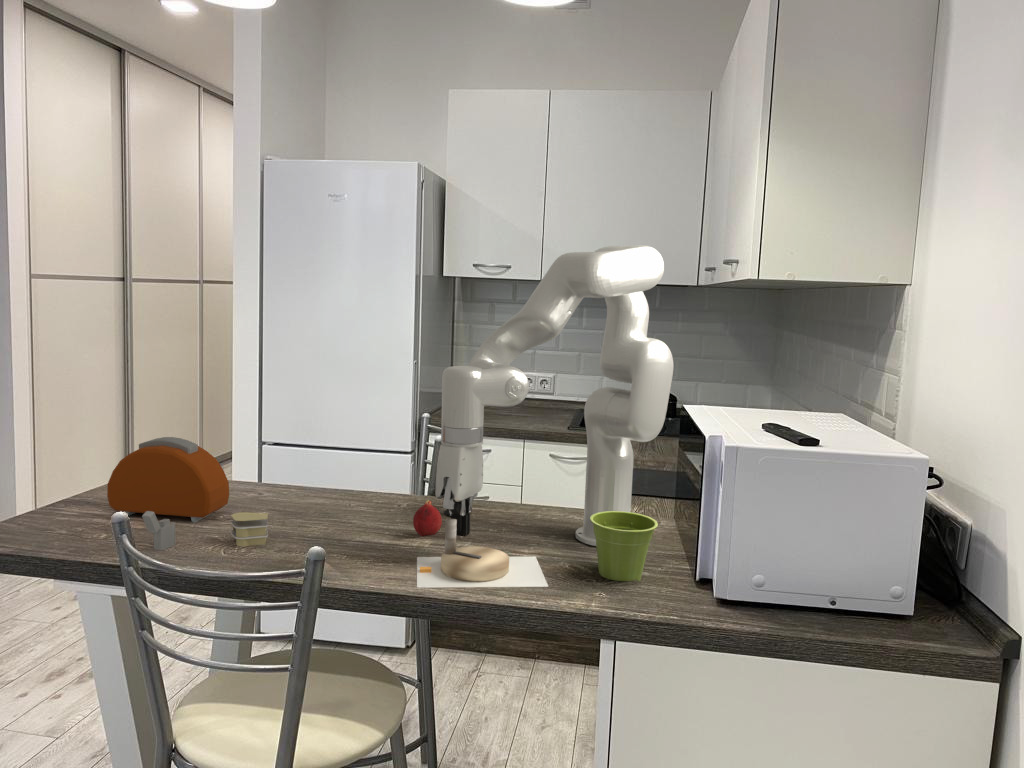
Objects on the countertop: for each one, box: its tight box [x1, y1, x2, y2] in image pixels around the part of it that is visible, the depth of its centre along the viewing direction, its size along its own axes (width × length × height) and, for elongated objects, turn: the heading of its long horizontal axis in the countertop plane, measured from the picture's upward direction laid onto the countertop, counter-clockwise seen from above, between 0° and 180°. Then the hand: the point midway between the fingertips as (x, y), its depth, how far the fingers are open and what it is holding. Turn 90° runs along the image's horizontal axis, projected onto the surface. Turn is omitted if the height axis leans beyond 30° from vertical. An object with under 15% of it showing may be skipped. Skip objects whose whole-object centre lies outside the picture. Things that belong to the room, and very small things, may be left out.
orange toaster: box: [106, 436, 230, 523], centre depth 171 cm, size 23×9×17 cm, turn 82°
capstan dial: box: [440, 517, 510, 581], centre depth 141 cm, size 12×12×8 cm
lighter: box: [141, 511, 177, 552], centre depth 150 cm, size 7×2×8 cm, turn 165°
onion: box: [412, 499, 443, 538], centre depth 161 cm, size 6×6×8 cm
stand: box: [416, 556, 549, 589], centre depth 141 cm, size 22×15×2 cm
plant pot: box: [590, 511, 659, 582], centre depth 142 cm, size 12×12×11 cm
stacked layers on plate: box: [230, 511, 269, 547], centre depth 156 cm, size 10×9×6 cm
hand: (460, 534), depth 146 cm, fingers closed
